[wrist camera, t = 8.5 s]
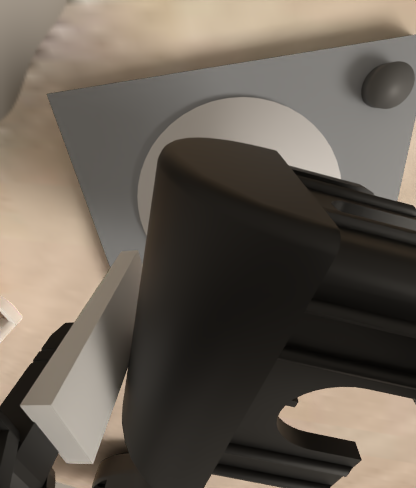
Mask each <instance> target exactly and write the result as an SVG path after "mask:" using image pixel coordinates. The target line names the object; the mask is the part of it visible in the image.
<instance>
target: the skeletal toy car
mask: <svg viewBox="0 0 416 488" xmlns="http://www.w3.org/2000/svg"><path fill="white" fill-rule="evenodd" d="M0 312H1V313H2V314H3V315H4V316H5V317H6V319H4V318H0V343H1V342H2V340H3V339H4V338H5V337H6V336H7V335H8V334H9V333H10V332H11V330H12V329H13V328H15V327H16V326H17V324H18V323H19V322H20V321H21V320H22V318H23V317H22V315H21V313H20V312H19V311H18V310H17V309H16V308H15V306H14V305H13V304H12V303H11V302H10V301H8V300H7V299H5V298H4V297H2V296H1V295H0Z"/></svg>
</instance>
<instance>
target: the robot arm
mask: <svg viewBox="0 0 416 488" xmlns="http://www.w3.org/2000/svg"><path fill="white" fill-rule="evenodd" d="M142 266H143V265H142V262H141V258H140V255H139V252H138V250H133V251H121V253H120V254H119V256H118V257H117V259H116V260H115V262H114V263H113V265H112V266H111V268H110V269H109V271H108V272H107V274H106V275H105V277H104V278H103V280H102V281H101V283H100V284H99V286H98V287H97V289H96V290H95V292H94V293H93V295H92V297H91V298H90V300H89V301H88V303H87V304H86V306H85V307H84V309H83V310H82V312H81V313H80V315H79V316H78V318H77V319H76V321H75V322H73V323H65V324H63V325H62V326H61V327H60V328H59V329H58V330H57V331H55V332H54V333H53V334H52V335H51V336H50V338H49V339H48V340H47V342H46V343H45V344H44V346H43V347H42V351H39V353H38V354H37V356H36V357H35V358H34V360H33V363H31V364H30V365H29V367H28V368H27V369H26V371H25V372H24V374H23V375H22V376H21V378H20V379H19V381H18V382H17V383H16V385H15V386H14V388H13V389H12V390H11V392H10V393H9V394H8V396H7V397H6V399H5V400H4V401H3V403H2V404H1V406H0V488H55V472H54V470H53V469H52V466H53V463H54V461H55V459H56V457H57V455H58V453H59V455H60V456H61V457H62V458H63V459H64V461H65V462H66V463H68V464H93V463H94V460H95V457H96V454H97V452H98V449H99V446H100V443H101V441H102V438H103V435H104V432H105V429H106V427H107V424H108V421H109V418H110V416H111V413H112V410H113V407H114V404H115V402H116V399H117V396H118V393H119V391H120V388H121V385H122V382H123V380H124V377H125V374H126V371H127V368H128V365H129V358H130V350H131V343H132V336H133V329H134V322H135V315H136V308H137V301H138V294H139V287H140V280H141V273H142ZM413 400H414V402H415V404H416V399H413ZM92 488H153V487H152V486H151V485H150V484H149V483H148V482H147V481H146V480H145V479H144V478H143V477H142V476H141V474H140V473H139V471H138V469H137V468H136V466H135V465H134V463H133V461H132V460H131V457H130V454H129V453H127V454H119V455H115V456H112V457H109V458H107V459H105V460H104V461H102V462H101V463H100V465H99V467H98V470H97V473H96V476H95V479H94V482H93V485H92Z"/></svg>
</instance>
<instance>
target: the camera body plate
mask: <svg viewBox="0 0 416 488" xmlns="http://www.w3.org/2000/svg"><path fill="white" fill-rule="evenodd" d="M47 96H48V99H49V102H50V105H51V107H52V110H53V113H54V116H55V118H56V121H57V124H58V126H59V129H60V132H61V135H62V137H63V140H64V143H65V146H66V148H67V151H68V154H69V156H70V159H71V162H72V165H73V167H74V170H75V173H76V176H77V178H78V181H79V184H80V186H81V189H82V192H83V195H84V197H85V200H86V203H87V205H88V208H89V211H90V214H91V216H92V219H93V222H94V225H95V227H96V230H97V233H98V235H99V238H100V241H101V244H102V246H103V249H104V252H105V255H106V257H107V260H108V263H109V265H110V268H111V266H112V265H113V263H114V262H115V260H116V259H117V257H118V256H119V254H120V253H121V251H133V250H138V252H139V255H140V258H141V262H142V265H143V259H144V252H145V245H146V238H147V231H148V224H149V217H150V210H151V203H152V196H153V189H154V182H155V175H156V168H157V160H158V157H159V155H160V153H161V151H162V149H163V148H164V146H166V145H167V144H169V143H171V142H173V141H175V140H178V139H184V138H194V137H202V138H215V139H223V140H230V141H236V142H241V143H246V144H251V145H255V146H260V147H264V148H268V149H272V150H276V151H277V152H278V153H279V154H280V155H281V156H282V158H283V159H284V160H285V161H286V163H287V164H288V165H289V166H293V167H297V168H300V169H304V170H308V171H312V172H316V173H319V174H323V175H327V176H331V177H334V178H338V179H342V180H346V181H349V182H353V183H357V184H360V185H362V186H364V187H365V188H367V189H368V190H370V191H371V192H373V193H374V195H375V196H379V197H383V198H386V199H390V200H394V201H397V200H398V195H399V191H400V186H401V182H402V177H403V172H404V168H405V163H406V159H407V154H408V150H409V145H410V140H411V136H412V131H413V127H414V122H415V118H416V35H410V36H404V37H398V38H391V39H385V40H379V41H373V42H367V43H360V44H354V45H348V46H342V47H335V48H329V49H323V50H317V51H311V52H304V53H298V54H292V55H286V56H279V57H273V58H267V59H261V60H255V61H248V62H242V63H236V64H230V65H224V66H217V67H211V68H205V69H199V70H192V71H186V72H180V73H174V74H168V75H161V76H155V77H149V78H143V79H136V80H130V81H124V82H118V83H112V84H105V85H99V86H93V87H87V88H80V89H74V90H68V91H62V92H56V93H49V94H47Z"/></svg>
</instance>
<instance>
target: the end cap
mask: <svg viewBox="0 0 416 488" xmlns="http://www.w3.org/2000/svg"><path fill="white" fill-rule="evenodd" d="M332 387H358V388H365V389H370V390H375V391H379V392H384V393H389V394H393V395H398V396H402V397H407V398H412V399H416V208H415V207H414V206H413V205H409V204H405V203H402V202H398V201H394V200H390V199H386V198H383V197H379V196H375V195H374V193H373V192H371V191H370V190H368V189H367V188H365V187H364V186H362V185H360V184H357V183H353V182H349V181H346V180H342V179H338V178H334V177H331V176H327V175H323V174H319V173H316V172H312V171H308V170H304V169H300V168H297V167H293V166H289V165H288V164H287V163H286V161H285V160H284V159H283V158H282V156H281V155H280V154H279V153H278V152H277V151H276V150H272V149H268V148H264V147H260V146H255V145H251V144H246V143H241V142H236V141H230V140H223V139H215V138H202V137H194V138H184V139H178V140H175V141H173V142H171V143H169V144H167V145H166V146H164V148H163V149H162V151H161V153H160V155H159V157H158V160H157V168H156V175H155V182H154V189H153V196H152V203H151V210H150V217H149V224H148V231H147V238H146V245H145V252H144V259H143V266H142V273H141V280H140V287H139V294H138V301H137V308H136V315H135V322H134V329H133V336H132V343H131V350H130V358H129V365H128V372H127V379H126V386H125V393H124V400H123V409H122V426H123V433H124V439H125V443H126V446H127V449H128V452H129V454H130V457H131V460H132V461H133V463H134V465H135V466H136V468H137V469H138V471H139V473H140V474H141V476H142V477H143V478H144V479H145V480H146V481H147V482H148V483H149V484H150V485H151V486H152V487H153V488H204V486H205V485H206V483H207V481H208V479H209V478H210V476H211V474H213V475H219V476H224V477H229V478H234V479H240V480H245V481H250V482H256V483H261V484H266V485H271V486H277V487H282V488H330V487H331V486H332V485H333V484H335V483H336V482H337V481H338V480H339V479H340V478H341V477H343V476H344V477H346V476H347V475H348V474H349V472H350V471H351V469H352V468H353V467H354V466H355V465H356V464H358V463H359V462H360V461H361V457H360V454H359V451H358V449H357V446H356V443H355V442H353V441H348V440H343V439H338V438H334V437H329V436H324V435H319V434H314V433H309V432H305V431H301V430H298V429H295V428H293V427H291V426H289V425H287V424H286V423H284V422H283V421H282V420H281V419H280V418H279V417H278V415H279V413H280V411H281V410H282V409H283V408H284V406H285V405H287V406H291V407H295V406H296V405H297V403H298V398H297V397H299V396H301V395H303V394H306V393H309V392H312V391H315V390H320V389H325V388H332Z"/></svg>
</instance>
